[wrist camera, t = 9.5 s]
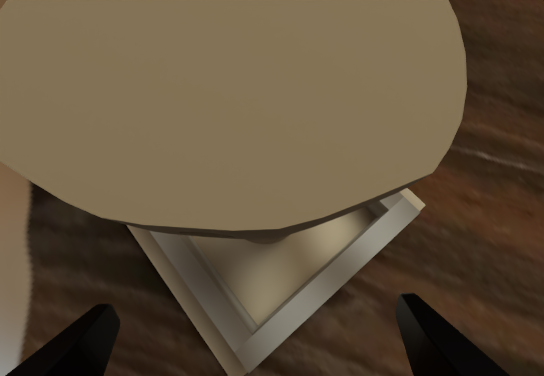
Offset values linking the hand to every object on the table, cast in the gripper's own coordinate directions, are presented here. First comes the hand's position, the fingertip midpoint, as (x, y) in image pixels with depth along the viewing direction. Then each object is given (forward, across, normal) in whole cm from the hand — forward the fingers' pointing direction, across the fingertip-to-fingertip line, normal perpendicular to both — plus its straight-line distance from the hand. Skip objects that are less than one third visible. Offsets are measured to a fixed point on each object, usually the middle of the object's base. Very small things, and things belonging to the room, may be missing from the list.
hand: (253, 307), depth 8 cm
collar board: (+10, 0, +3) cm, 11 cm away
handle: (+9, 0, +3) cm, 10 cm away
